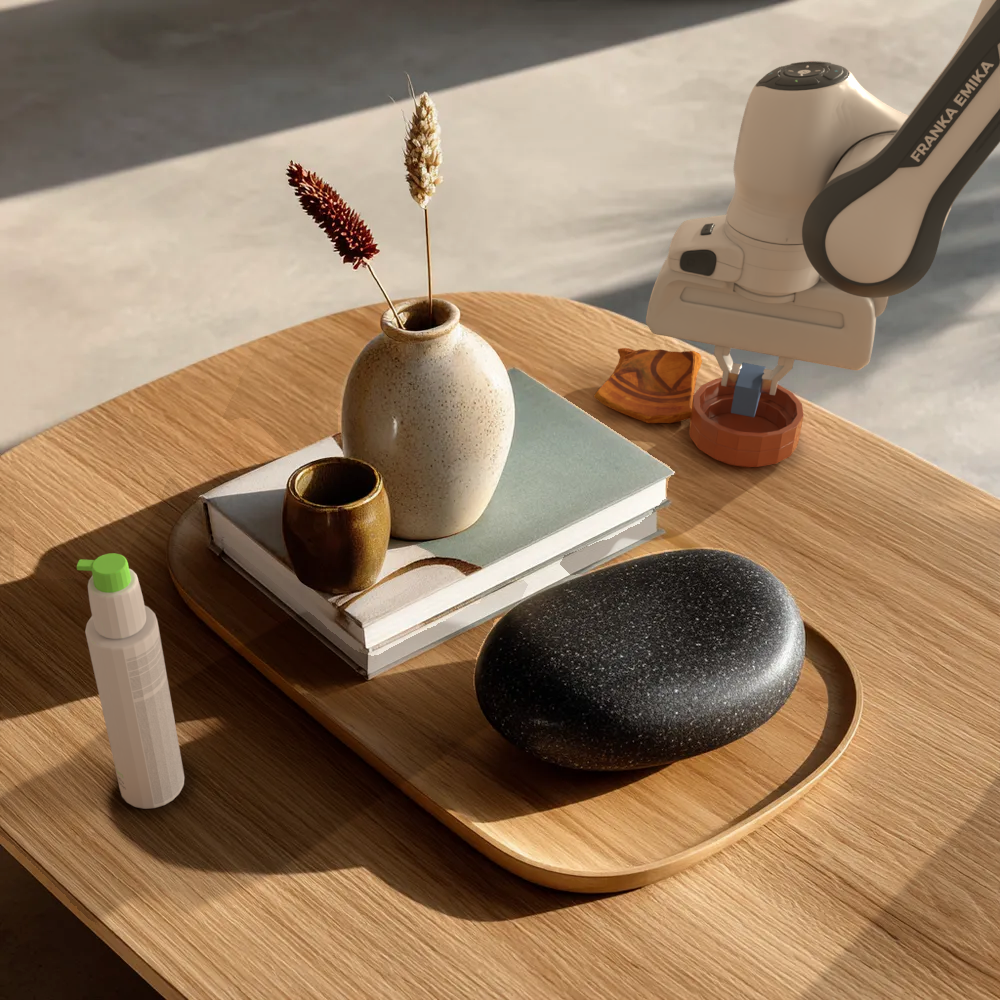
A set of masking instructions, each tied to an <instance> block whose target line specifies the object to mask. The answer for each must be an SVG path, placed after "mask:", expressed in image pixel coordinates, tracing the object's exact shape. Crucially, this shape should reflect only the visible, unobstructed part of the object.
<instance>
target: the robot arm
mask: <svg viewBox="0 0 1000 1000" xmlns="http://www.w3.org/2000/svg"><path fill="white" fill-rule="evenodd" d="M741 119H742V120H741V123H740V128H739V133H738V137H737V143H736V149H735V155H734V159H733V160H734V161H733V177H734V191H733V195H732V198H731V200H730V202H729V204H728V206H727V210H726V214H721V215H719V214H718V215H714V216H707V217H705V216H704V217H698V218H690V219H685V220H684V221H683V222H682V223H681V224H680V225H679V226H678V228H676V231H675V233H674V234H673V236H672V238H671V241H670V244H669V246H668V252H667V256H666V258H665V260H664V262H663V264H662V266H661V268H660V270H659V272H658V274H657V277H656V280H655V282H654V284H653V287H652V291H651V294H650V298H649V302H648V305H647V311H646V317H645V324H646V326H647V328H648V329H649V330H650V332H651V333H652V334H654V335H657V336H663V337H669V338H674V339H679V340H684V341H691V342H695V343H701V344H707V345H711V346H712V345H713V346H714V349H713V355H714V358H715V360H716V362H717V363H718V365H719V368H720V370H721V371H722V376H721V378H722V382H721V386H726V387H731V388H735V386H736V382H737V379H738V377H739V373H740V370H741V366H742V363H736V362H734V360H733V358H732V356H731V354H730V353H731V349H734V350H742V351H745V352H752V353H755V354H756V353H757V354H763V355H768V356H774V357H778V359H777V365H776V366H775V367H774V368H773V369H770V368H769V369H768V368H766V369H764V372H763V375H762V380H761V388H760V393H764V394H770V395H775V393H776V389H777V384H778V385H779V382H780V381H781V380H782V379H783V378H784V377H785V376H786V375H787V374H788V373H789V372H791V370H792V369H793V368H794V363H795V360H796V361H801V362H808V363H813V364H817V365H823V366H829V367H834V368H841V369H845V370H852V371H860V370H861V369H863V368H865V367H866V366H867V365H869V363H870V361H871V357H872V352H873V348H874V347H873V346H874V340H875V334H876V324H877V317H880V316H881V315H883V313H884V312H885V311H886V309H887V307H888V304H889V303H888V302H889V299H890V297H891V296H895V295H898V294H901V293H903V292H906V291H907V290H909V289H911V288H912V287H914V286H915V285H916V284H918V282H920V281H921V280H922V279H923V278H924V277H925V275H926V274H927V273H928V271H929V270H930V268H931V267H932V265H933V263H934V260H935V258H936V256H937V253H938V252H937V251H938V248H939V245H940V241H941V236H942V232H943V229H944V227H945V225H946V221H947V219H948V217H949V214H950V213H951V211H952V207H953V204H954V203H955V201H956V199H957V197H959V195H960V193H961V192H962V191H963V189H964V188H965V187H966V185H967V184H968V183H969V182H970V180H971V179H972V178H973V177H974V175H975V174H976V173H977V172H978V170H979V169H980V168H981V167H982V165H983V164H984V163H985V162H986V160H987V159H988V158H989V157H990V155H991V154H992V153H993V152H994V150H995V149H996V148H997V147H998V145H999V144H1000V0H980V3H979V5H978V9H976V13H975V15H974V17H973V19H972V21H971V24H970V26H969V28H968V30H967V32H966V33H965V35H964V37H963V39H962V41H961V42H960V45H959V46H958V47H957V49H956V51H955V52H954V54H953V55H952V57H951V59H950V60H949V61H948V63H947V64H946V66H945V67H944V68H943V69H942V71H941V72H940V74H939V75H938V76H937V78H936V79H935V80H934V82H932V84H931V86H929V88H928V89H927V91H926V92H925V93H924V94H923V96H922V97H921V99H920V100H919V101H918V103H917V104H916V105H915V107H914V108H913V110H912V111H911V112H910V113H909V114H907V113H904V112H903V111H900V110H898V109H897V108H894V107H892V106H891V105H889V104H887V103H885V102H884V101H882V100H881V99H879V98H878V97H876V96H875V95H873V94H872V93H871V92H869V90H866V88H864V87H863V85H861V84H860V82H859V81H858V80H857V79H856V77H855V75H854V74H853V73H852V72H851V71H850V70H849V69H848V68H846V67H845V66H843V65H839V64H835V63H832V62H830V61H829V62H828V61H820V60H819V61H817V60H816V61H815V60H812V61H811V60H810V61H808V60H807V61H800V62H793V63H790V64H786V65H781V66H779V67H775V68H774V69H772V70H771V71H769V72H768V73H766V74H765V75H764V76H763V77H761V79H759V80H758V81H757V82H756V84H754V86H753V88H752V90H751V91H750V94H749V96H748V99H747V102H746V104H745V108H744V112H743V116H742V118H741Z"/></svg>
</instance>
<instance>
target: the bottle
mask: <svg viewBox="0 0 1000 1000" xmlns="http://www.w3.org/2000/svg"><path fill="white" fill-rule="evenodd" d="M76 570H77V571H84V572H85V571H87V572H91V574H92V575H91V577H90V578H89V579H88V583H87V593H88V600H89V606H90V612H91V617H90V618H89V620H88V621H87V623H86V626H85V637H86V642H87V646H88V650H89V651H88V652H89V655H90V661H91V664H92V669H93V673H94V678H95V683H96V687H97V692H98V697H99V701H100V705H101V709H102V715H103V720H104V724H105V728H106V733H107V737H108V742H109V747H110V752H111V757H112V760H113V765H114V769H115V774H116V779H117V782H118V788H119V791H120V795H121V798H122V799H123V800H124V801H125V802H126V803H127V804H129V805H130V806H132V807H134V808H138V809H144V810H146V809H156V808H161V807H162V806H165V805H167V804H169V803H170V802H172V801H174V800H175V798H177V797H178V796H179V795H180V793H181V791H182V789H183V788H184V786H185V772H184V766H183V761H182V754H181V749H180V743H179V738H178V732H177V726H176V721H175V714H174V708H173V704H172V696H171V690H170V685H169V680H168V674H167V667H166V663H165V656H164V651H163V645H162V639H161V634H160V627H159V622H158V618H157V616H156V613H155V612H154V611H153V610H152V609H151V608H150V607H149V606H147V605H145V601H144V596H143V593H142V588H141V585H140V582H139V581H140V580H139V578H138V575H137V573H136V572H135V571H134V570H133V569H131V568H130V567H129V562H128V560H127V558H126V557H125V556H124V555H122V554H120V553H115V552H113V553H112V552H111V553H105V554H102V555H100V556H97V557H96V558H95V559H81V558H79V560H78V562H77V563H76Z"/></svg>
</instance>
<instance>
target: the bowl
mask: <svg viewBox="0 0 1000 1000" xmlns="http://www.w3.org/2000/svg"><path fill="white" fill-rule="evenodd" d="M721 382H722V377H718V378H717V377H716V378H714V379H712V380H710V381H707V382H706V383H703V384H702V385H700V386H699V387H698V389H697V390H696V391H695V392H694V395H693V402H692V409H691V416H690V419H689V429H688V430H689V431H688V432H689V438H690V439H691V441H692V442H693V443H694V445H695V446H696V447H697V449H698V450H700V451H701V452H703V453H704V454H706V455H708V456H709V457H711V458H712V459H714V460H716V461H718V462H720V463H724V464H727V465H730V466H734V467H742V468H761V467H766V466H770V465H776V464H778V463H781V462H782V461H785V460H786V459H787V458H790V457H791V456H792V455H793V453H794V452H795V451H796V449H797V448H798V445H799V441H800V436H801V431H802V427H803V421H804V415H805V414H804V409H803V403H802V402H801V401H800V400H799V398H798V397H797V396H796V395H795V394H794V393H793V392H792V391H790V390H789V389H787V388H785V387H784V386H782V385H781V384H779V383H778V384H777V389H776V393H775V395H770V394H764V393H761V395H760V398H759V402H758V406H757V409H756V413H755V417H749V416H744V415H739V414H734V413H731V408H732V402H733V397H734V391H735V388H731V387H726V386H721Z"/></svg>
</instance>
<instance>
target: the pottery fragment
mask: <svg viewBox="0 0 1000 1000" xmlns="http://www.w3.org/2000/svg"><path fill="white" fill-rule="evenodd" d="M617 353H618V355H619V358H618V363H617V364H616V367H615V368H614V370H613V373H612V374H611V375H610V376H609V377H608V378H607V379H606V381H605V382H604V383H603V384H602V385H601V386H600V387H599V388H598V389H597V391H596V392H595V394H594V395H593V398H595V400H596V401H598V402H599V403H601V404H602V405H604V406H606V407H607V408H609V409H612V410H614V411H616V412H619V413H621V414H623V415H625V416H627V417H630V418H634V419H637V420H639V421H641V422H643V423H646V424H674V423H677V422H681V421H686V420H690V416H691V409H692V402H693V395H694V394H695V389H696V384H697V377H698V374H699V371H700V369H701V367H702V363H703V359H702V355H701V353H700V352H698V351H695V350H684V351H671V350H666V349H662V348H661V349H646V348H640V349H638V350H637V349H632V348H630V347H620V348H618V349H617Z"/></svg>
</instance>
